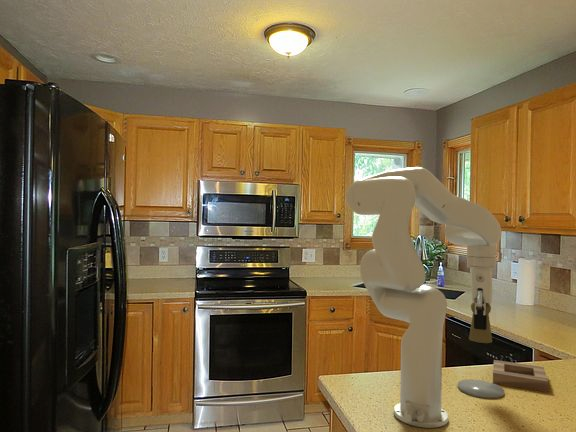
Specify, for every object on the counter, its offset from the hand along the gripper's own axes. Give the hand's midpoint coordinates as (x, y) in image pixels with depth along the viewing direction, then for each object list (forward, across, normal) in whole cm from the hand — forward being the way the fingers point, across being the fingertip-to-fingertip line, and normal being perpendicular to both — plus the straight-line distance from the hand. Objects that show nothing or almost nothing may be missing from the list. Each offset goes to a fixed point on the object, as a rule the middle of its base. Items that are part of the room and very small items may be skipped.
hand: (480, 326), depth 120 cm
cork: (+4, 0, 0) cm, 4 cm away
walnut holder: (+18, +15, -10) cm, 26 cm away
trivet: (+18, 0, 0) cm, 18 cm away
